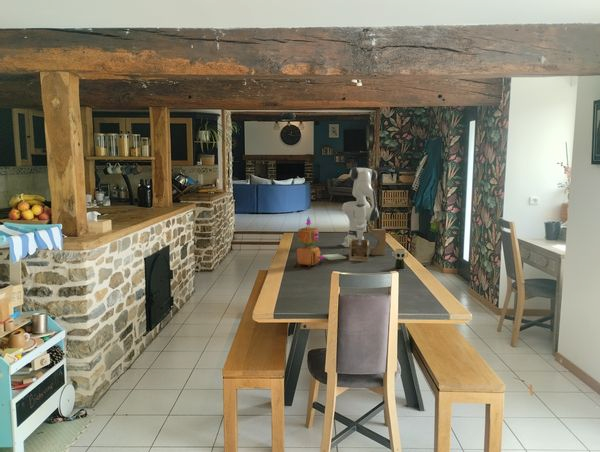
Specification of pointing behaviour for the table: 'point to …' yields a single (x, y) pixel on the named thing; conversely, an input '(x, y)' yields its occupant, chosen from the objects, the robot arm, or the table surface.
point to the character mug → (400, 257)
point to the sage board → (334, 256)
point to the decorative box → (308, 246)
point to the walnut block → (358, 249)
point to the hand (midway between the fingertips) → (359, 243)
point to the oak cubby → (353, 250)
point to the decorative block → (379, 242)
